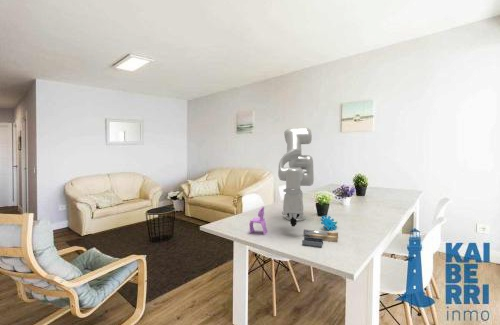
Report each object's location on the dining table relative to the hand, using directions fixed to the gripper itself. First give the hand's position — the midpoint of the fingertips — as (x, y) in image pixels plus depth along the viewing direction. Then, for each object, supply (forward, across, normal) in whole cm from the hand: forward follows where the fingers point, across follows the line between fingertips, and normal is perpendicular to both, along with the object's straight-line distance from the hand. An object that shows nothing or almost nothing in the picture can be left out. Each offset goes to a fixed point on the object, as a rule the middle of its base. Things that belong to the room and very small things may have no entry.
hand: (293, 225), depth 134 cm
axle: (+5, +11, +1) cm, 12 cm away
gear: (+5, +17, +17) cm, 25 cm away
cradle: (+6, +11, -10) cm, 16 cm away
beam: (+6, +16, +1) cm, 17 cm away
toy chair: (+6, -20, -1) cm, 21 cm away
